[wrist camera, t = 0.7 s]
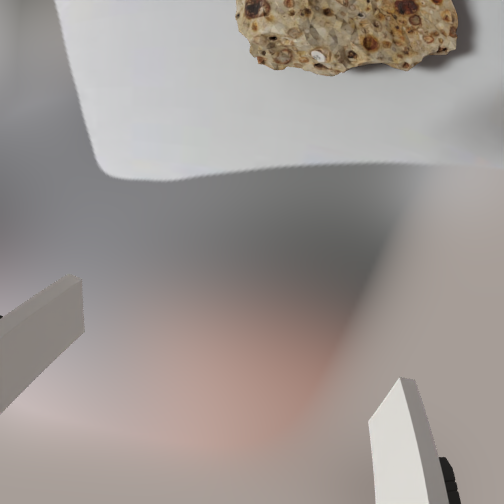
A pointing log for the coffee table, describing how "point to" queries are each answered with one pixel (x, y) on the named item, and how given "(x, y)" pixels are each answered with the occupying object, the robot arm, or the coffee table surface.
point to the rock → (346, 32)
